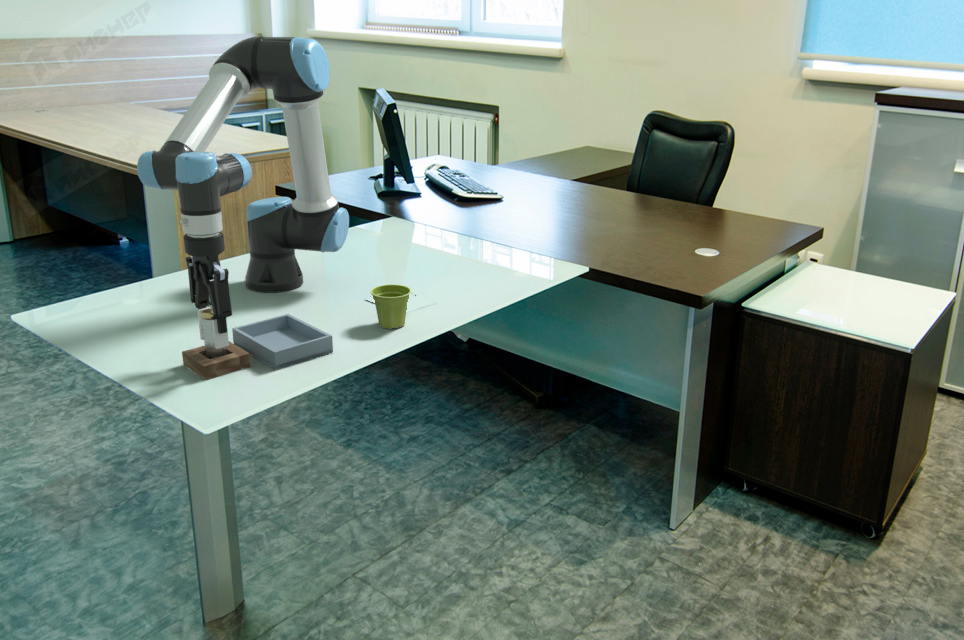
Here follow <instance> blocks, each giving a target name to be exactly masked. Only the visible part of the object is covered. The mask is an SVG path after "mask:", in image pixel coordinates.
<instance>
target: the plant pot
mask: <svg viewBox="0 0 964 640" xmlns="http://www.w3.org/2000/svg"><path fill="white" fill-rule="evenodd" d="M410 293H412V289H411V288H410V287H408V286H406V285H403V284H392V283H391V284H382V285H379V286H374V287H373V288H372V289H371V290H370V294H371V295H372V296H373V299H374V300H375V304H374V305H375V309H376V315H377V316H376V317H377V320H378V321H377V322H378V325H379V326H380V328H382V327H384V328H383V329H385V328H393V329H398V328H397V327H401V326H403V325H404V324H406V319H407V318H406V316H407V313H406V310H407V302H408V299H409V294H410ZM404 326H405V325H404ZM404 326H403V327H404ZM401 328H402V327H401Z"/></svg>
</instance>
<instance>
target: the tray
mask: <svg viewBox="0 0 964 640" xmlns="http://www.w3.org/2000/svg"><path fill="white" fill-rule="evenodd" d="M231 329H232V330H231V331H232V340H233V342H232V343H233V344H235V345H236V346H238V347H240V348H241V349H243V350H245V351H246V352H248V353H250V357H253V358H255V359H256V360H258V361H260V362H261V363H263V364H265V365H267V366H268V367H270V368H272V369H274V370H275V371H278V370H281V369H284V368H285V369H286V368H288V367H291V366H294V365H297V364H300V363H305V362H308V361H311V360H314V359H317V358H316V357H318V358H321V357H324V356H326V355H325V354H327V355H330V354H329V353H331V354H333V353H334V346H333V344H334V343H333V341H334V340H333V335H332V334H329V333H328V332H325V331H324V330H322V329H321V328H318V327H315V326H314V325H311V324H310V323H308V322H305V321H303V320H301V319H299V318H297V317H296V316H294V315H291V314H289V313H286V314H282V315H278V316H274V317H271V318H267V319H263V320H258V321H256V322H251V323H247V324H244V325H240V326H236V327H231ZM332 352H333V353H332ZM323 355H324V356H323ZM320 356H321V357H320Z"/></svg>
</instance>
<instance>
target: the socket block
mask: <svg viewBox="0 0 964 640" xmlns="http://www.w3.org/2000/svg"><path fill="white" fill-rule="evenodd" d="M225 348H226V355H225V356H221V357H217V358H214V359H208V358H207V357H206V352H205V345H201V346H199V347H194V348H190V349H187V350H183V351H181V354H182V355H181V357H182V364H183V366H184V367H186V368H187V369H189V370H190V371H192V372H193V373H194V374H196V375H197V376H199V377H200V378H201V379H203V380H205V381H207V380H210V379H214V378H217V377H221V376H224V375H228V374H231V373H235V372H238V371H241V370H244V369H248V368H251V367H252V365H251V363H252V362H251V355H250V353H248V352H246V351H245V350H243V349H241V348H240V347H238V346H236V345H235V344H234V342H231V341H229V346H226V347H225Z"/></svg>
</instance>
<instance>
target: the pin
mask: <svg viewBox="0 0 964 640" xmlns="http://www.w3.org/2000/svg"><path fill="white" fill-rule="evenodd" d="M201 316H202V325H203V334H204V340H203V341H204V342H203V343H204V346H205V352H206V357H207V358H208V359H214V358H217V357H221V356H225V355H226V348H225V347H222V348H218V349H216V348H215V343H214V333H213V324H212V319H211V317H213V316H214V314H213V310H212V308H211V309H206V310H204V311H202V312H201Z"/></svg>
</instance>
